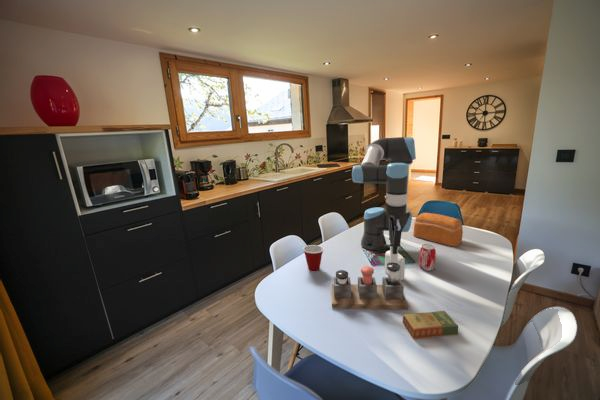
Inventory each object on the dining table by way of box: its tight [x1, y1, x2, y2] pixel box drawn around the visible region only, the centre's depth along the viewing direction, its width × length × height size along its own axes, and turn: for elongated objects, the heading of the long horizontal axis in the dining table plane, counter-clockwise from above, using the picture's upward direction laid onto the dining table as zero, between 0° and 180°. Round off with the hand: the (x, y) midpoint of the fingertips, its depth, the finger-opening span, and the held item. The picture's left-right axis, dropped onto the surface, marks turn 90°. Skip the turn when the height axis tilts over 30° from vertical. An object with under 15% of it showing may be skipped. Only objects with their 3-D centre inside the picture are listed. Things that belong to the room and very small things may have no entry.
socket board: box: [331, 276, 409, 311], centre depth 112 cm, size 30×14×8 cm, turn 84°
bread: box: [412, 212, 464, 248], centre depth 165 cm, size 14×26×16 cm, turn 41°
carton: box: [402, 310, 459, 340], centre depth 94 cm, size 8×16×4 cm, turn 94°
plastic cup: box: [302, 244, 325, 273], centre depth 138 cm, size 11×11×12 cm
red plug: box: [360, 265, 375, 285], centre depth 111 cm, size 5×5×9 cm
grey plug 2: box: [387, 262, 400, 285], centre depth 109 cm, size 5×5×9 cm
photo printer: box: [384, 250, 406, 281], centre depth 127 cm, size 10×4×12 cm, turn 26°
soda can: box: [418, 243, 437, 272], centre depth 132 cm, size 7×7×12 cm
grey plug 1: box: [335, 269, 349, 285], centre depth 113 cm, size 5×5×9 cm
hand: (393, 259), depth 107 cm, fingers closed
